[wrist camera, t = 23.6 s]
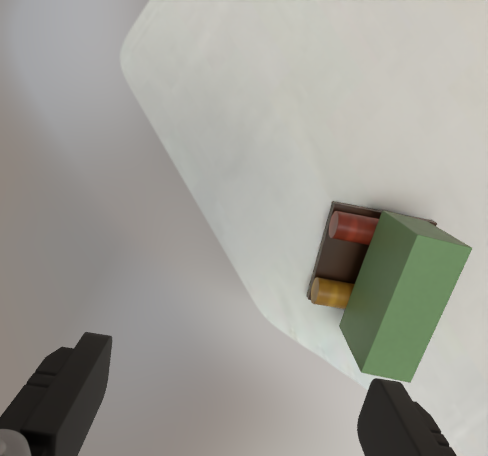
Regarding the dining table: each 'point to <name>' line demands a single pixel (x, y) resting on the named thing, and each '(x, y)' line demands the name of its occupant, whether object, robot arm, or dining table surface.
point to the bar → (401, 294)
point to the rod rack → (343, 253)
